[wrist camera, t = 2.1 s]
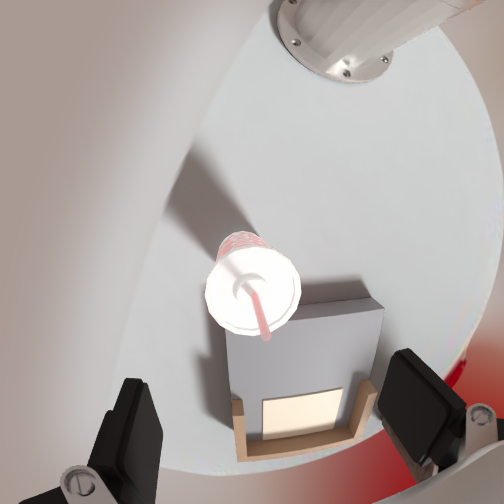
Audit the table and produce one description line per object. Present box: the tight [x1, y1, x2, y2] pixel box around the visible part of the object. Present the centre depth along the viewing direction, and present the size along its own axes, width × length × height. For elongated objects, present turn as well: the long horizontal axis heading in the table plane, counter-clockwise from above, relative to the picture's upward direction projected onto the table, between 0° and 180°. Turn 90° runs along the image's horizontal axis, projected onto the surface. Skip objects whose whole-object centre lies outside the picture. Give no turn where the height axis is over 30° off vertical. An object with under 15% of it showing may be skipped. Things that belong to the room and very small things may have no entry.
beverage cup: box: [205, 231, 301, 341], centre depth 20 cm, size 6×6×14 cm
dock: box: [225, 297, 385, 462], centre depth 28 cm, size 19×16×6 cm
